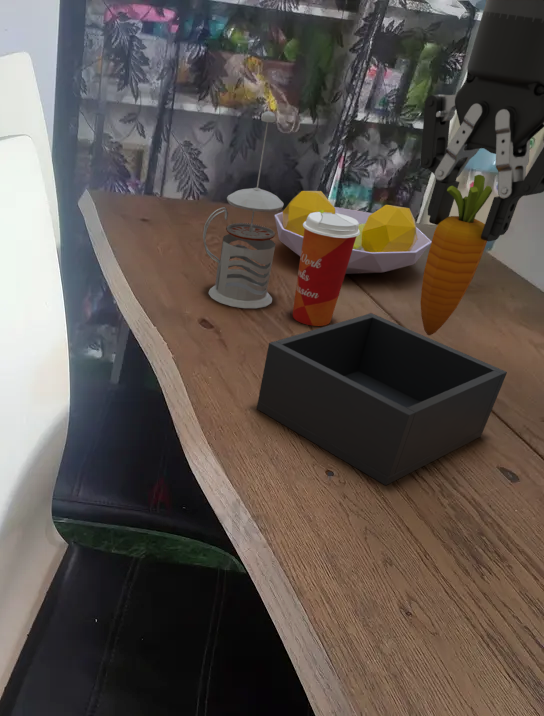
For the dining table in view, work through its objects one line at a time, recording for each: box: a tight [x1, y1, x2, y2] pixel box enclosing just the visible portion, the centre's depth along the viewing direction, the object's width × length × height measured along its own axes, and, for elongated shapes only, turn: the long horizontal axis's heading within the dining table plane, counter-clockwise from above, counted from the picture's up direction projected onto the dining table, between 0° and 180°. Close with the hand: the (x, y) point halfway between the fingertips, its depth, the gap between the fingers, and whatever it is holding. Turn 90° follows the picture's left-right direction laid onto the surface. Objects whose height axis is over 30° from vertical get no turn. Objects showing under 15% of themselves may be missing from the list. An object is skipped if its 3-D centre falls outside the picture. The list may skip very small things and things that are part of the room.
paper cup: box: [292, 212, 360, 327], centre depth 103 cm, size 8×8×14 cm
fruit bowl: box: [274, 190, 432, 275], centre depth 126 cm, size 28×27×11 cm
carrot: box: [420, 174, 493, 336], centre depth 70 cm, size 5×5×15 cm
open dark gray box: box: [256, 312, 508, 486], centre depth 81 cm, size 18×18×8 cm
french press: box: [202, 110, 284, 309], centre depth 104 cm, size 10×12×25 cm
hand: (462, 230), depth 69 cm, fingers closed on carrot, 5 cm apart
